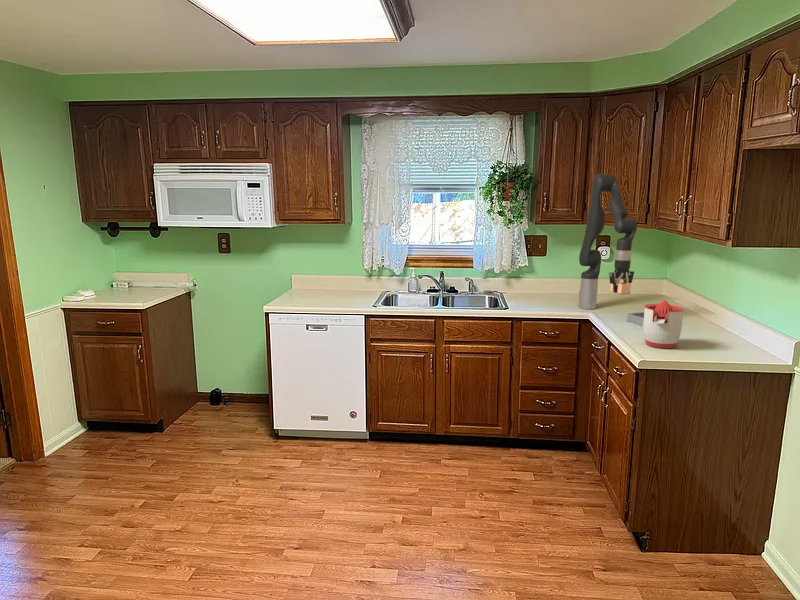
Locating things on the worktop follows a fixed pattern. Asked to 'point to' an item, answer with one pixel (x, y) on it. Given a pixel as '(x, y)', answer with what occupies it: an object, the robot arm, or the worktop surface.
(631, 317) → the large crate
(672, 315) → the citrus juicer
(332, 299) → the worktop surface
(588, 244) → the robot arm
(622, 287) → the small crate
